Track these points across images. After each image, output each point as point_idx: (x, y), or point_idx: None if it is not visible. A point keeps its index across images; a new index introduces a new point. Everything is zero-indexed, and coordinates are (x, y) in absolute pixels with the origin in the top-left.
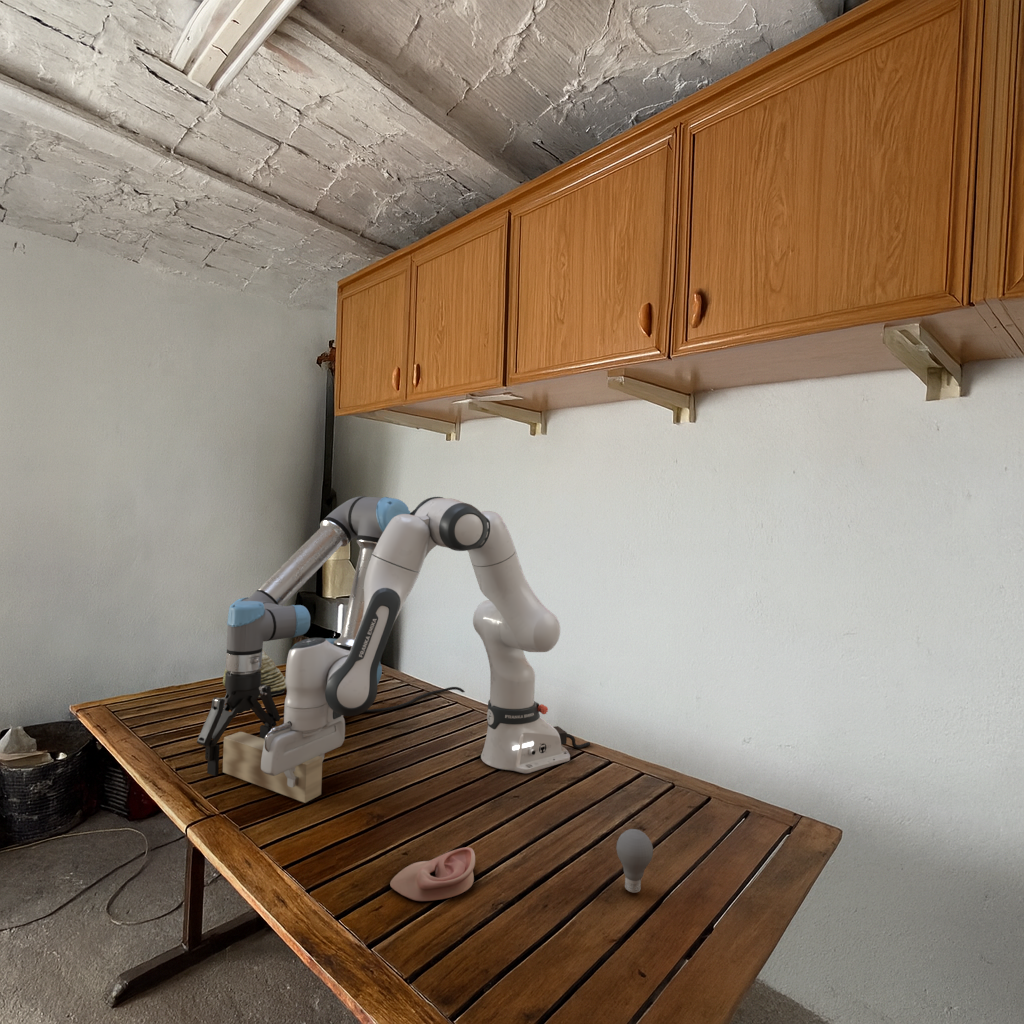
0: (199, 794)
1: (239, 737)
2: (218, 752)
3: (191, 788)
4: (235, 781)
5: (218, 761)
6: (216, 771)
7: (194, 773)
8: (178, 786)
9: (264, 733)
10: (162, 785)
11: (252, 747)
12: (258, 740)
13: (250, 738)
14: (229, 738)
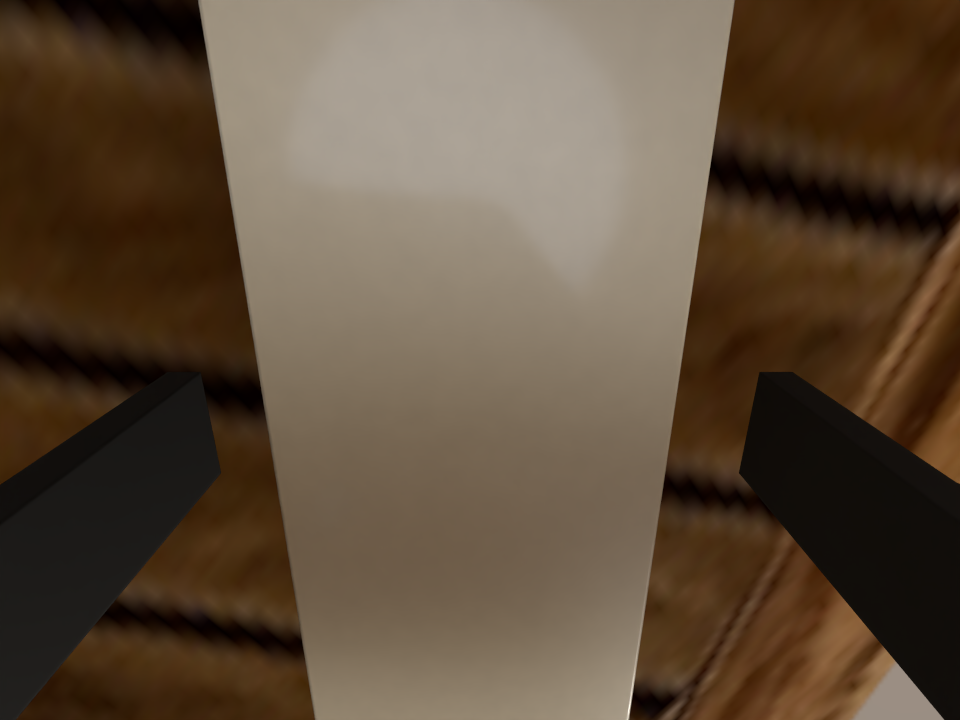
0: (915, 309)
1: (499, 643)
2: (952, 503)
3: None
4: None
5: (851, 433)
6: (805, 387)
7: (657, 598)
8: None
9: (44, 569)
10: None
11: (723, 70)
12: (380, 287)
13: (415, 486)
14: (612, 709)
